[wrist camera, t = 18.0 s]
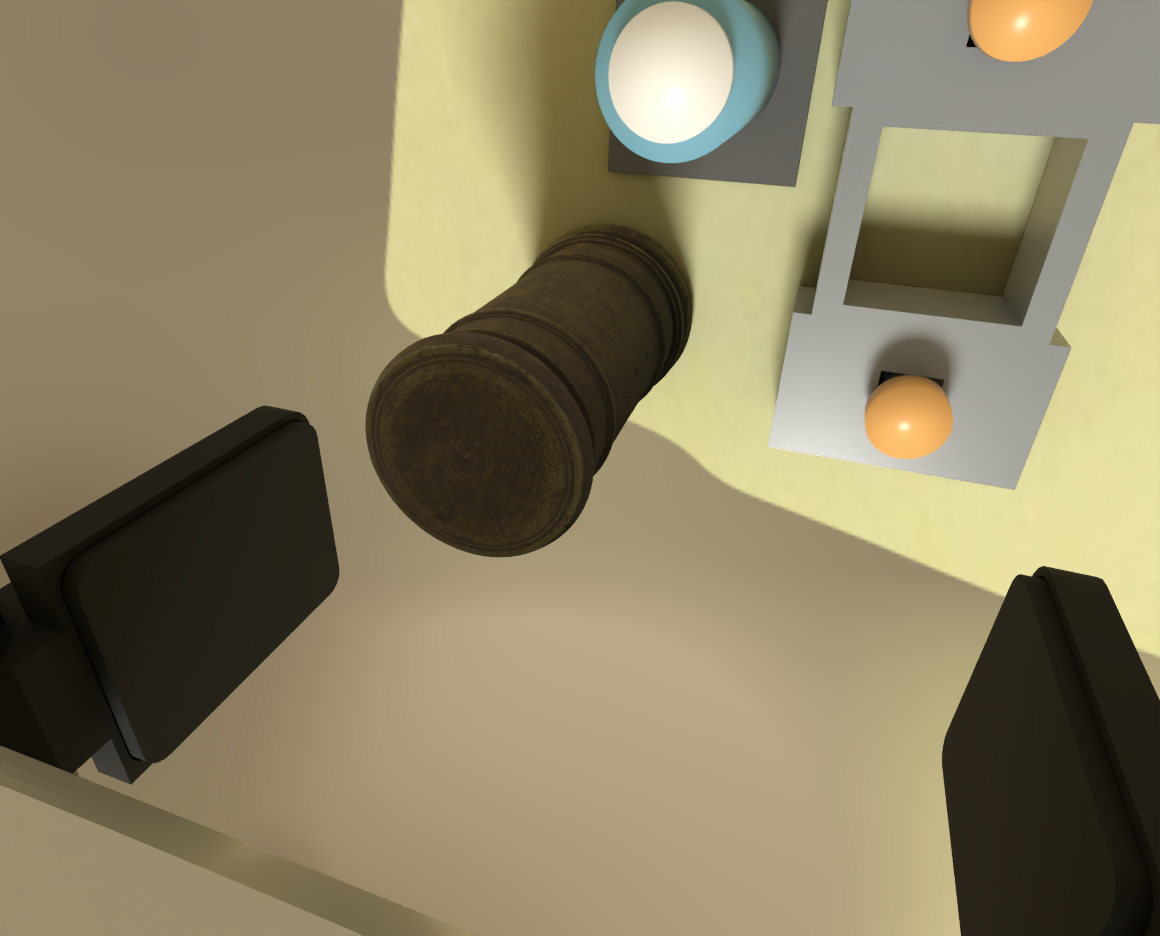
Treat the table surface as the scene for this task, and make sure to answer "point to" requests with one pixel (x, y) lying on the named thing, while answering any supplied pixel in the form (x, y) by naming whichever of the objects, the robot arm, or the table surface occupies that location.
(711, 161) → the mat
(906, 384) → the orange mushroom peg
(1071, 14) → the plunger
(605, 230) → the container
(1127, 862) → the robot arm
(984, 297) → the housing
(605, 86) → the cartridge
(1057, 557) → the table surface
